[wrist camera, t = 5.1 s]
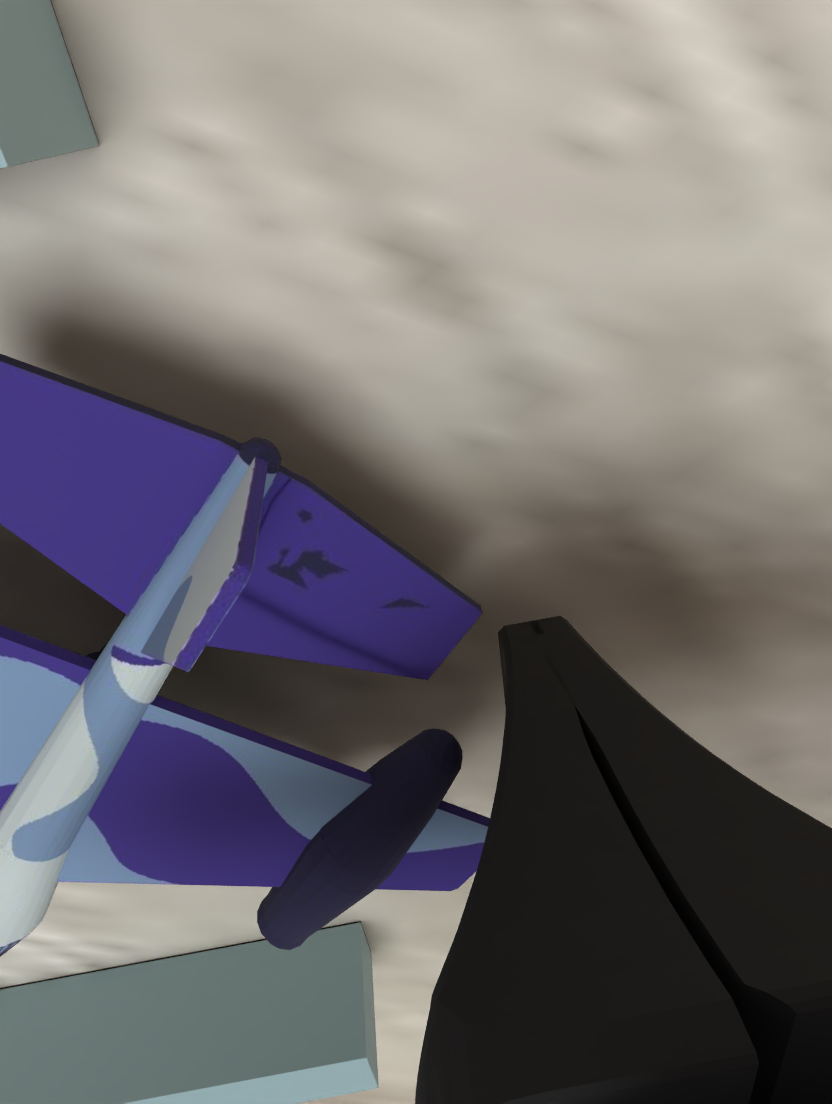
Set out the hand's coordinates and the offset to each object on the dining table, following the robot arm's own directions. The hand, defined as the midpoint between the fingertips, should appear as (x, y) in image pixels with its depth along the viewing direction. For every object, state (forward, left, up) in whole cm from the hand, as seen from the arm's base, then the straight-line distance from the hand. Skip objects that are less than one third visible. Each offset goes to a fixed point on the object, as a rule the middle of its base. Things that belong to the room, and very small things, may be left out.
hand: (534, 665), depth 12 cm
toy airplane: (0, +8, -1) cm, 8 cm away
